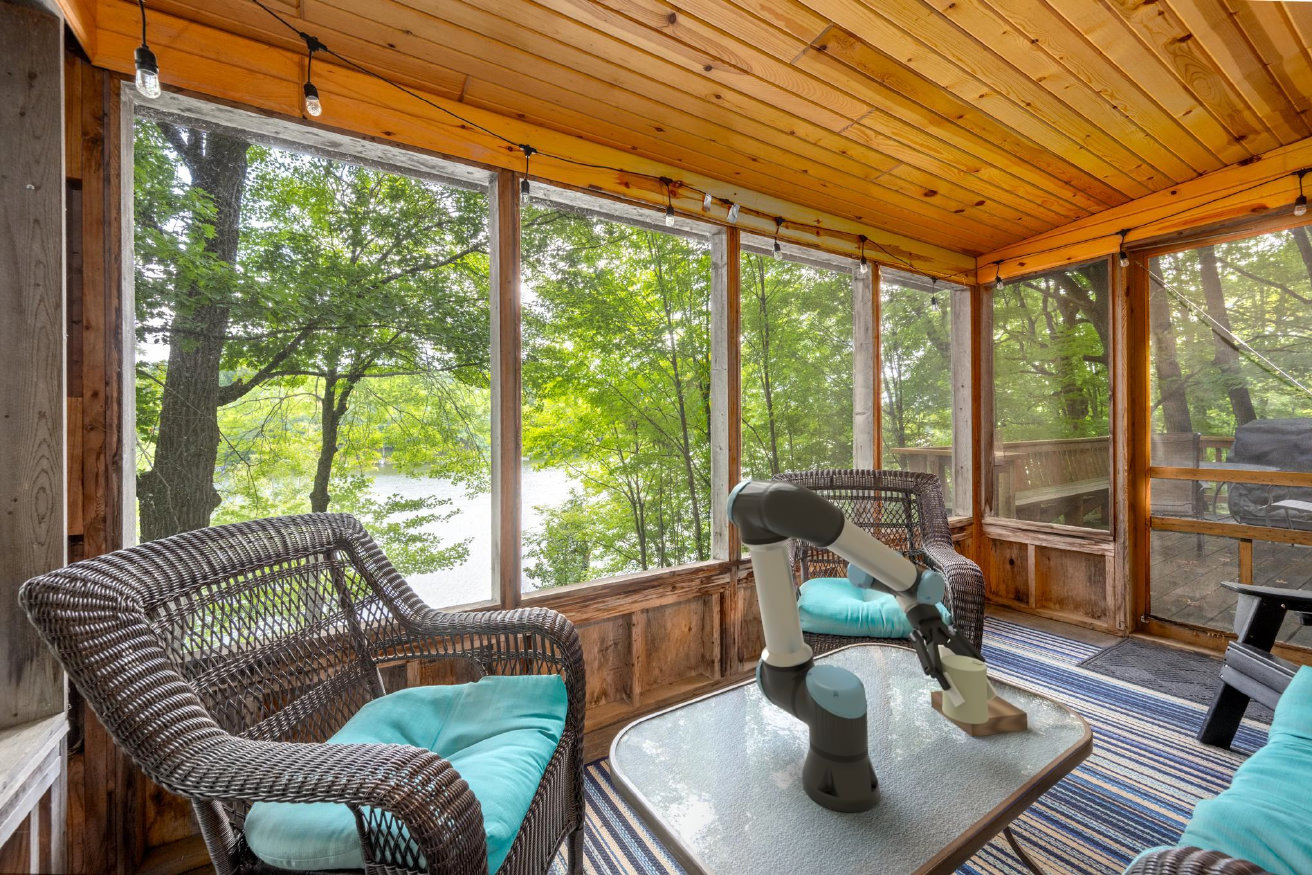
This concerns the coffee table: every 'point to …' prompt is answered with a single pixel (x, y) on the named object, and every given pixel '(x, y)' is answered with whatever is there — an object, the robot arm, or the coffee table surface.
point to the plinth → (999, 713)
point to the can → (966, 689)
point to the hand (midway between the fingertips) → (977, 700)
